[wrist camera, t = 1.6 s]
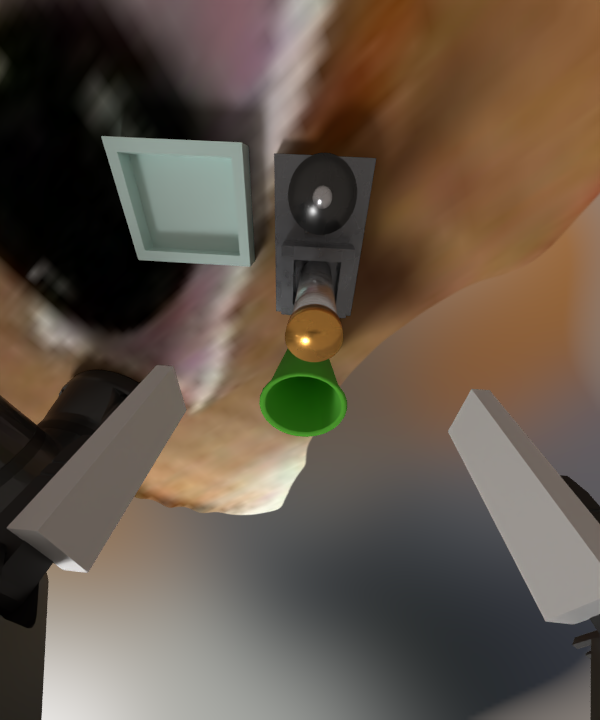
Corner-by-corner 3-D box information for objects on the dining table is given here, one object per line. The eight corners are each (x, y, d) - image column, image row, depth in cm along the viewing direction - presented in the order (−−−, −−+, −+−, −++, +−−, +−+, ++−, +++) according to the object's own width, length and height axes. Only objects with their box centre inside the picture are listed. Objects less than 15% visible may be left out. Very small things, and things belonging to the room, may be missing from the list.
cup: (317, 308, 32) (317, 357, 23) (351, 360, 36) (362, 419, 27) (261, 341, 35) (241, 396, 26) (298, 385, 39) (292, 446, 30)
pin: (298, 291, 30) (284, 360, 18) (299, 257, 27) (285, 309, 16) (331, 293, 29) (339, 364, 18) (335, 259, 27) (347, 313, 16)
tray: (151, 254, 29) (138, 260, 27) (120, 140, 24) (101, 136, 22) (255, 260, 29) (250, 266, 27) (248, 146, 23) (241, 142, 21)
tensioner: (277, 307, 32) (271, 325, 28) (276, 154, 23) (266, 147, 19) (349, 312, 32) (354, 331, 28) (374, 159, 23) (386, 153, 19)
